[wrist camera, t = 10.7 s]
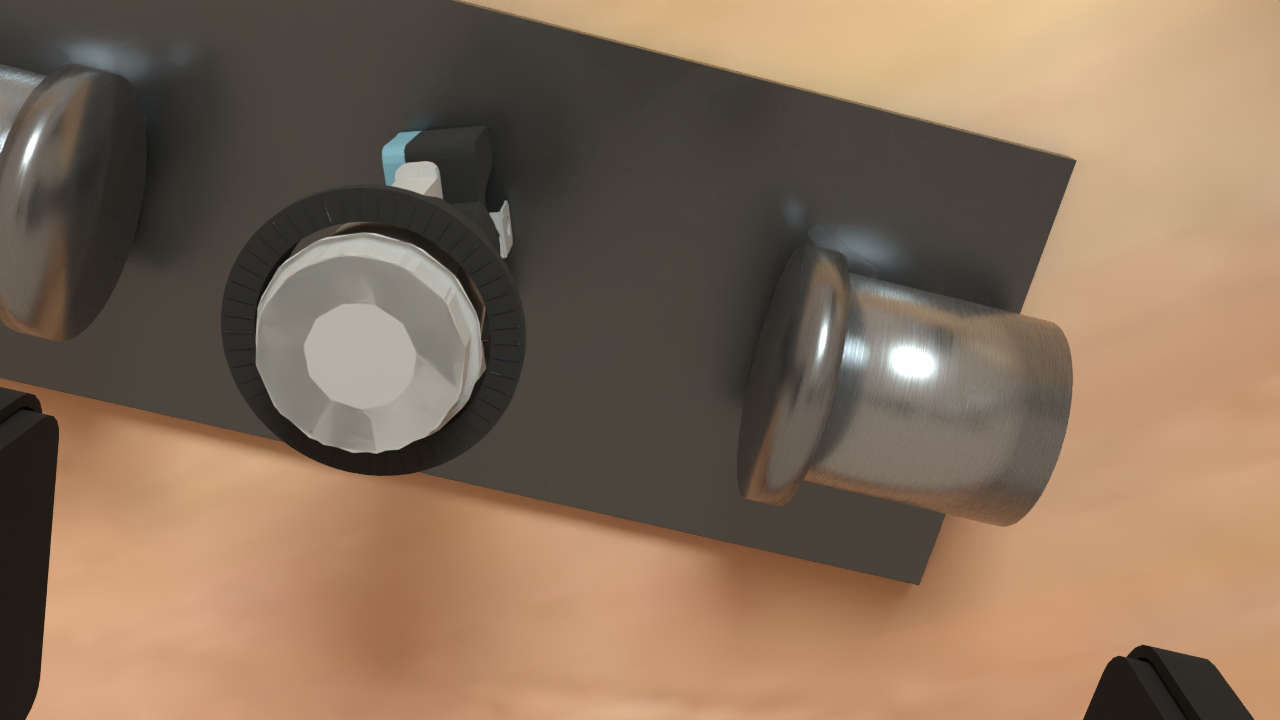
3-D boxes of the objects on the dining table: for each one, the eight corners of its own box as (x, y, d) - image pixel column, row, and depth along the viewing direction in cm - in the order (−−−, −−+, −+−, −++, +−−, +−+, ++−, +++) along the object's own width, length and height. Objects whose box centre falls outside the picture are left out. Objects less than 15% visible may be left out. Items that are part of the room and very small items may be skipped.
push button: (574, 366, 31) (543, 556, 22) (369, 382, 31) (249, 577, 22) (547, 104, 29) (498, 187, 19) (325, 122, 29) (171, 213, 20)
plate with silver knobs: (1069, 157, 30) (1179, 215, 23) (915, 575, 34) (975, 719, 27) (-91, -142, 27) (-303, -163, 21) (-112, 343, 31) (-295, 443, 25)
